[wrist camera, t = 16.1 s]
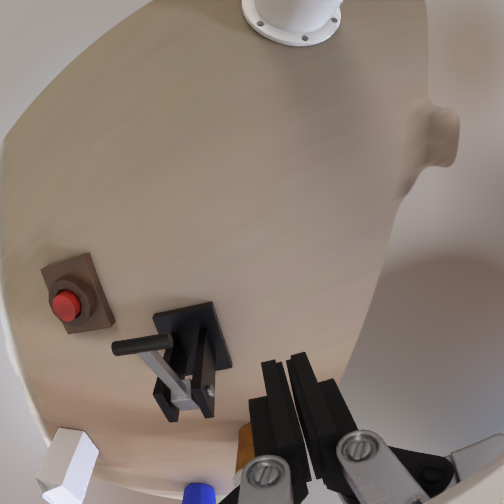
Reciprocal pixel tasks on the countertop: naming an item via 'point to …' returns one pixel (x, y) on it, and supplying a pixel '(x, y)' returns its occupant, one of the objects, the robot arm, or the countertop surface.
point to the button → (66, 305)
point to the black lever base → (192, 355)
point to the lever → (159, 366)
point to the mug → (199, 494)
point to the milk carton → (67, 467)
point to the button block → (79, 293)
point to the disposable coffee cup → (243, 452)
